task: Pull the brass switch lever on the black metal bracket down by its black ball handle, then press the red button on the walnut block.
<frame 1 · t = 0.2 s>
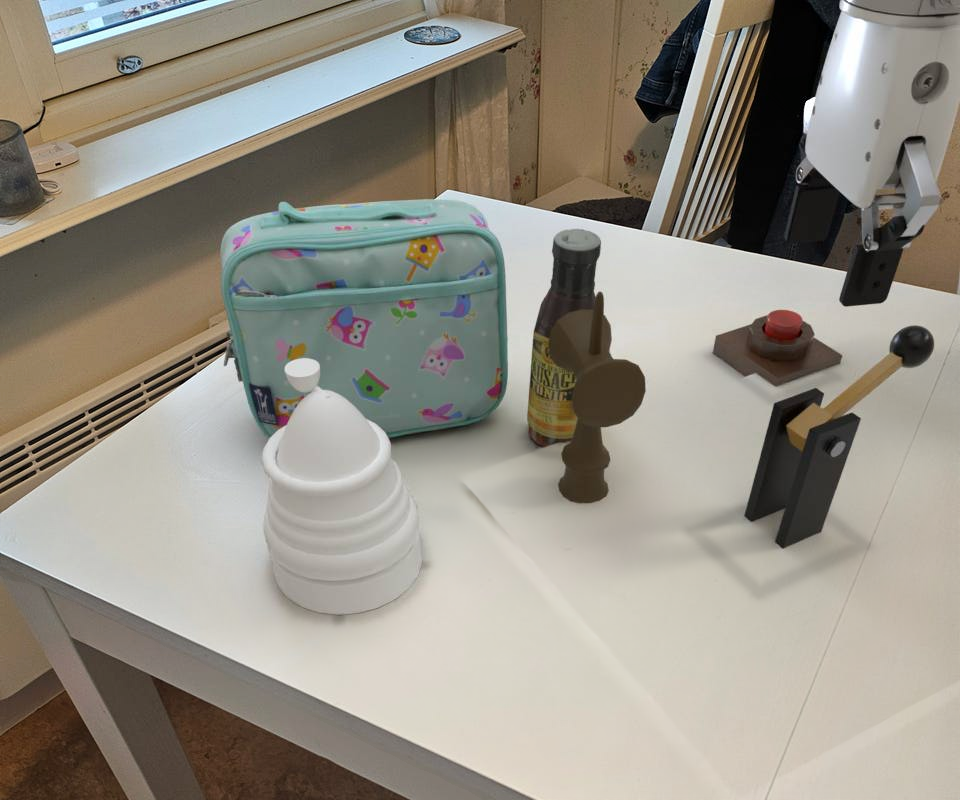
hand: (831, 270, 64), 23 cm above the table, tool pointing down, fingers open, 9 cm apart
lunch box: (375, 421, 93), on the table
kendama: (582, 499, 84), on the table
button block: (773, 363, 99), on the table
sauce bottle: (559, 437, 90), on the table
light button: (783, 325, 95), point 4 cm above the table, slide at 0.1 cm
honey pot: (348, 563, 78), on the table
switch lever: (862, 387, 71), point 13 cm above the table, hinge at 28.0°
switch bracket: (779, 534, 80), on the table
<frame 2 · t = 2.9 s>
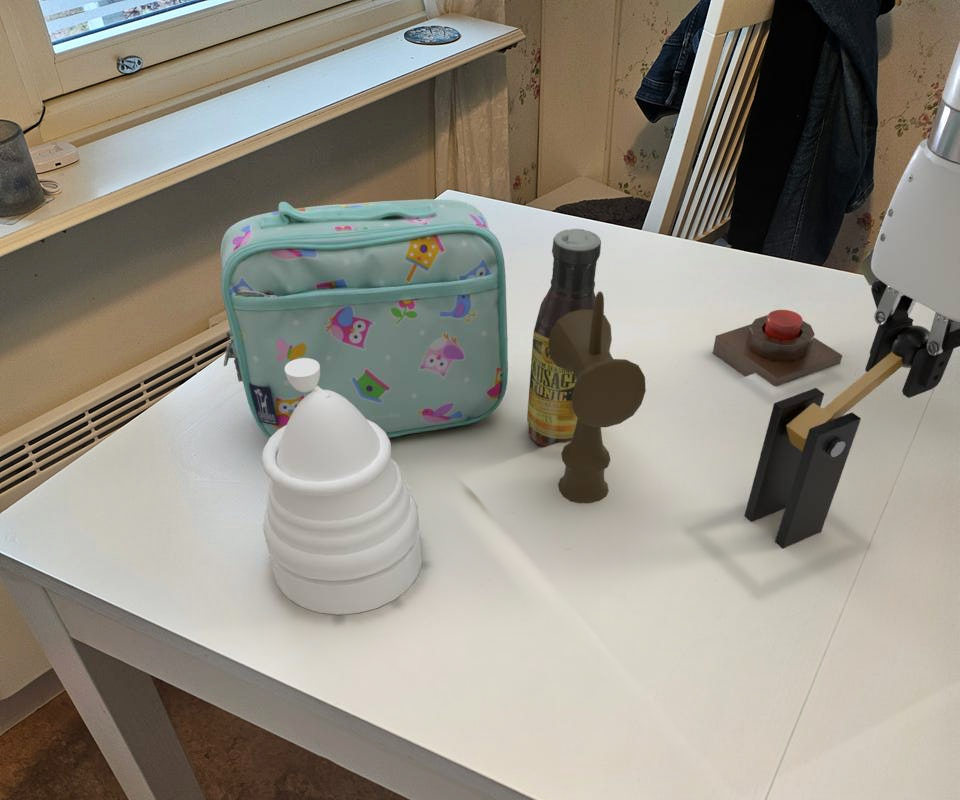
hand: (899, 378, 73), 13 cm above the table, tool pointing down, fingers closed on switch lever, 3 cm apart
switch lever: (862, 387, 71), point 13 cm above the table, hinge at 28.0°, touching gripper
everything else where it was.
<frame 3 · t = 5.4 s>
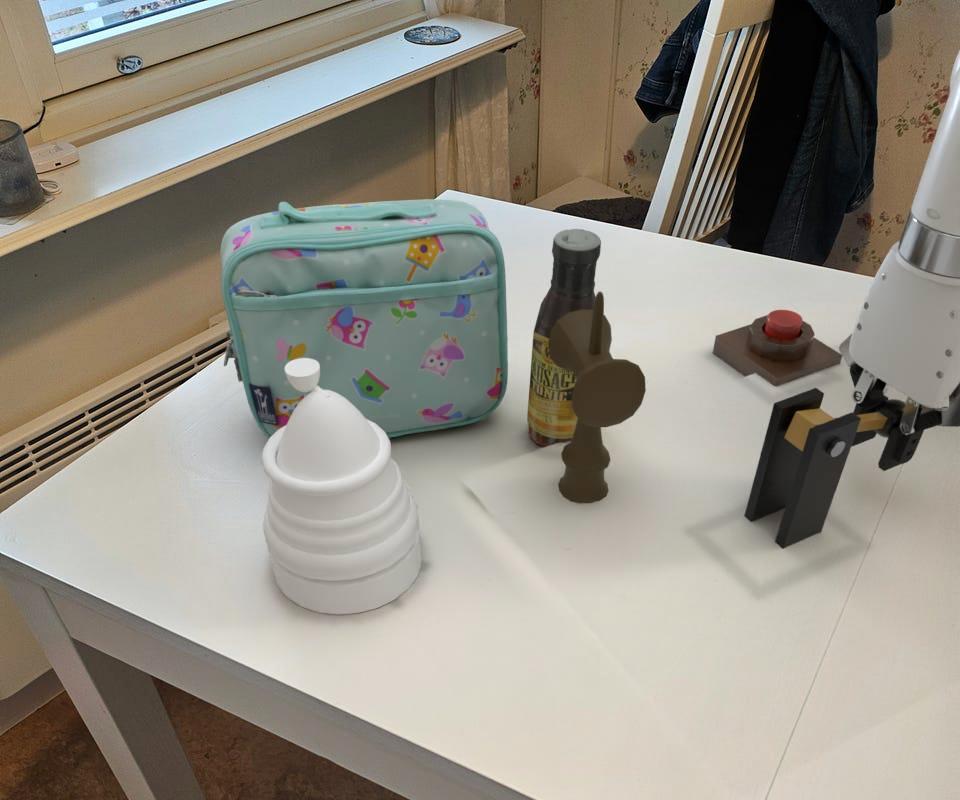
hand: (876, 450, 79), 6 cm above the table, tool pointing down, fingers closed on switch lever, 3 cm apart
switch lever: (853, 424, 74), point 10 cm above the table, hinge at -13.1°, touching gripper
everything else where it was.
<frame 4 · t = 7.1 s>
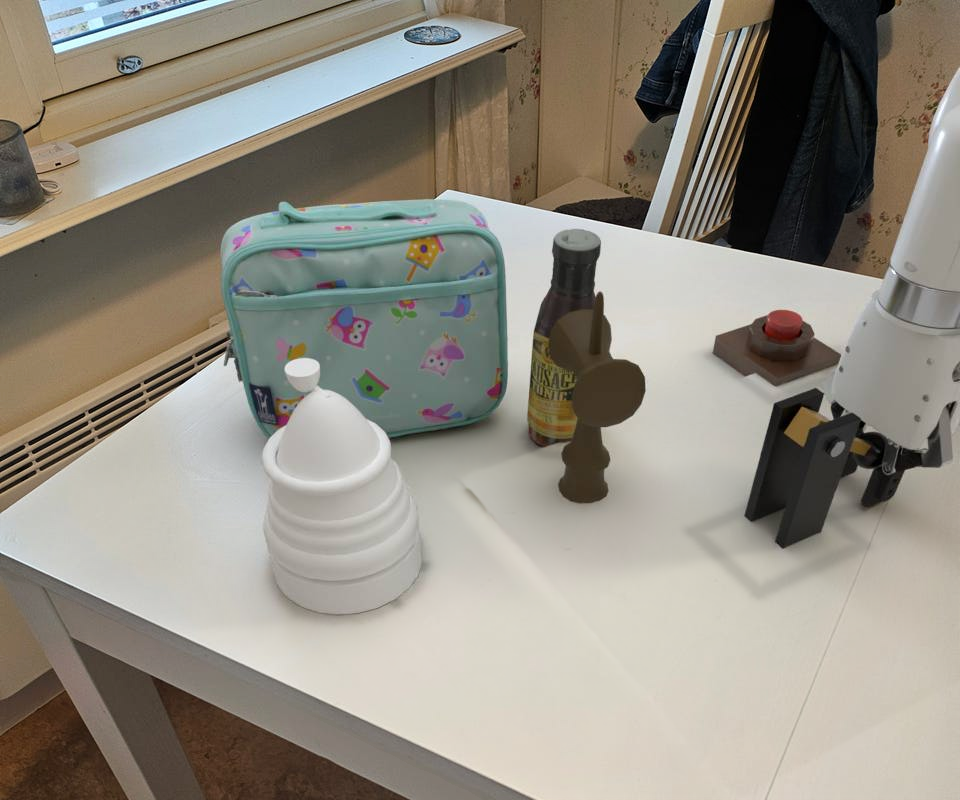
hand: (857, 486, 81), 2 cm above the table, tool pointing down, fingers open, 3 cm apart
switch lever: (843, 440, 75), point 8 cm above the table, hinge at -30.7°
everything else where it was.
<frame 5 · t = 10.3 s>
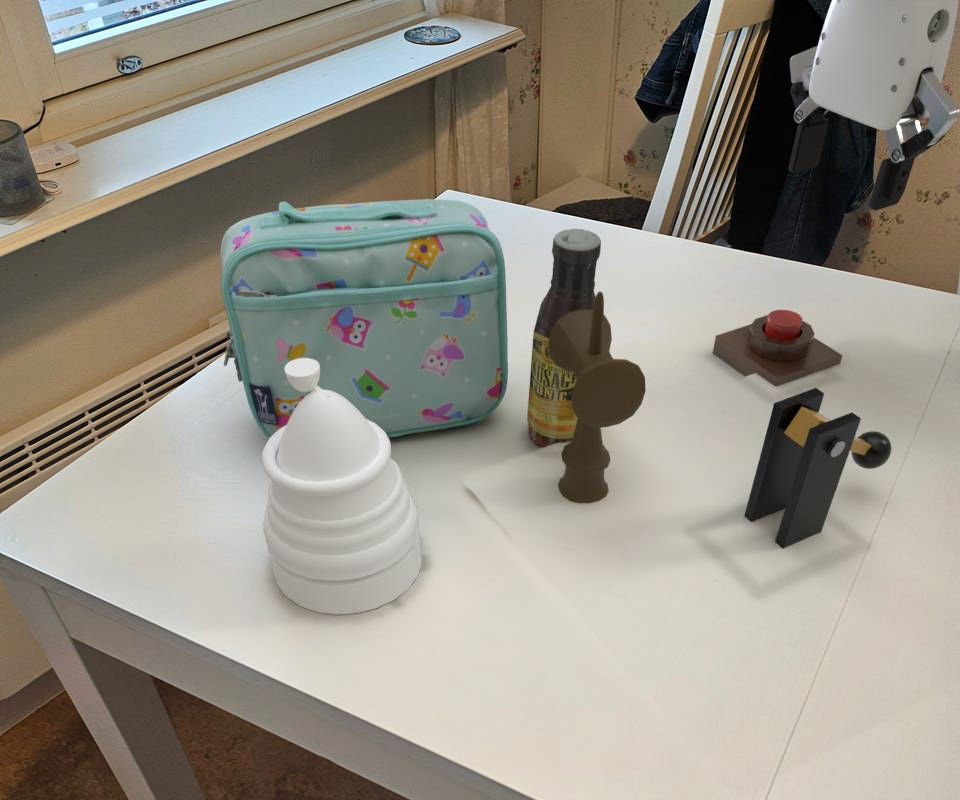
hand: (841, 186, 80), 20 cm above the table, tool pointing down, fingers open, 9 cm apart
nothing on the table moved.
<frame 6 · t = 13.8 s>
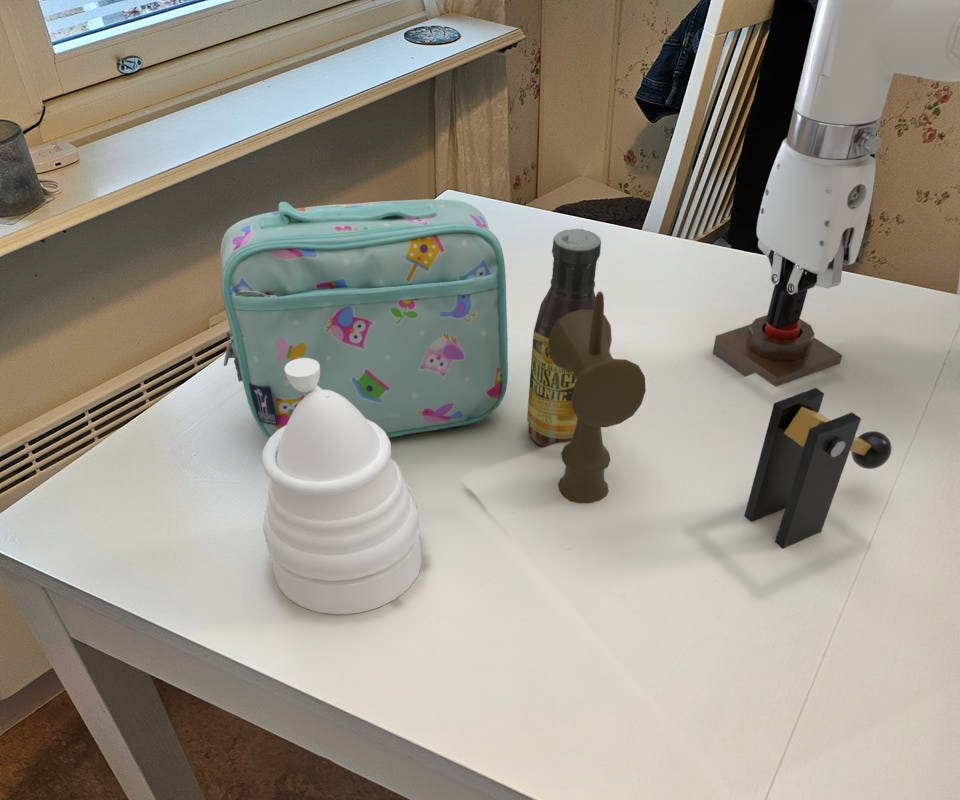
hand: (782, 321, 95), 5 cm above the table, tool pointing down, fingers closed
light button: (782, 329, 96), point 4 cm above the table, slide at -0.4 cm, touching gripper
everything else where it was.
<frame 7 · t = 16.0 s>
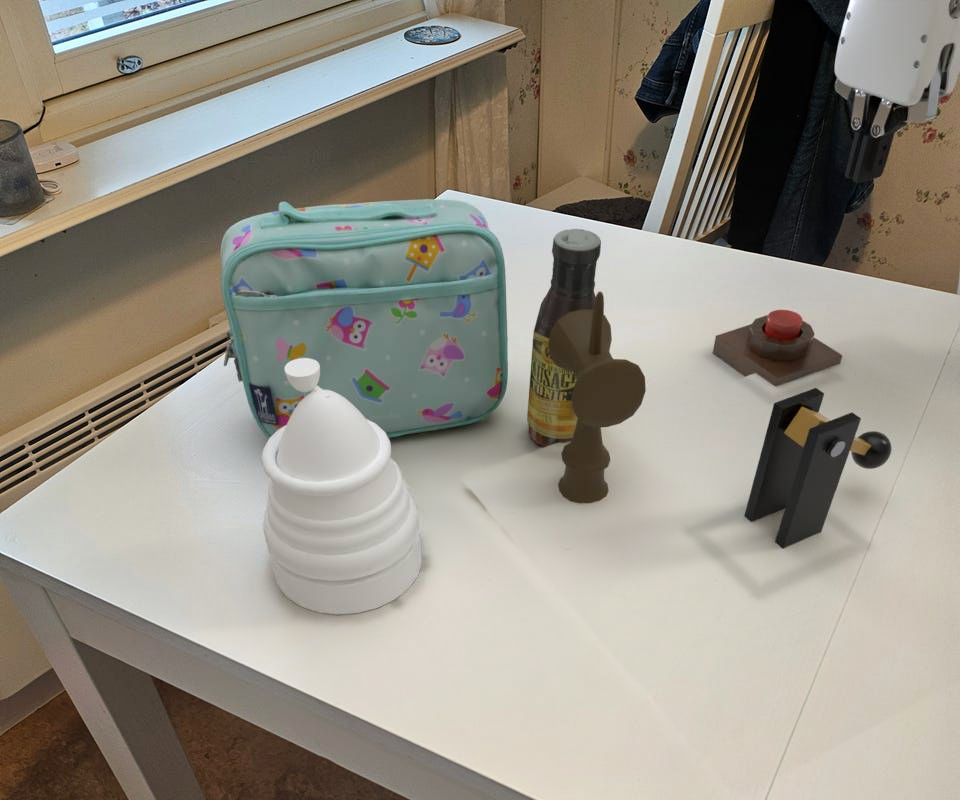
hand: (863, 176, 84), 20 cm above the table, tool pointing down, fingers closed
light button: (783, 325, 95), point 4 cm above the table, slide at 0.1 cm
everything else where it was.
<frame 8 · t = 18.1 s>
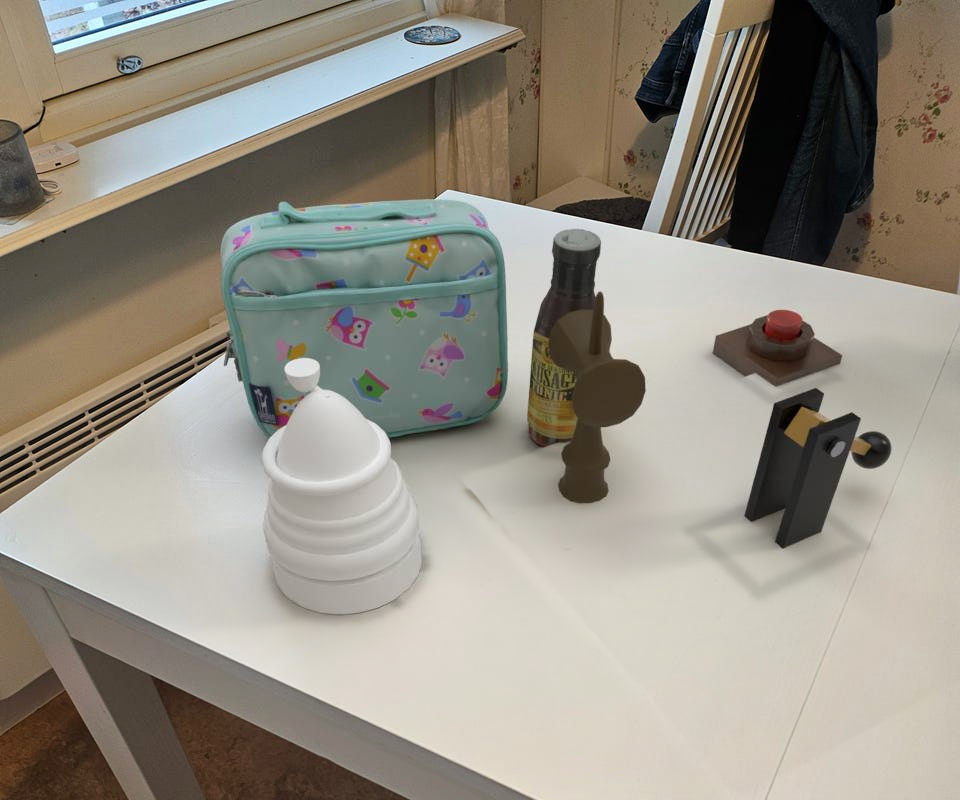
nothing on the table moved.
at the end: switch lever at -30° (first picture: +28°); light button pushed in 1.1 cm at the most during the clip, back to where it started at the end; light button slide at 0.1 cm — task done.
